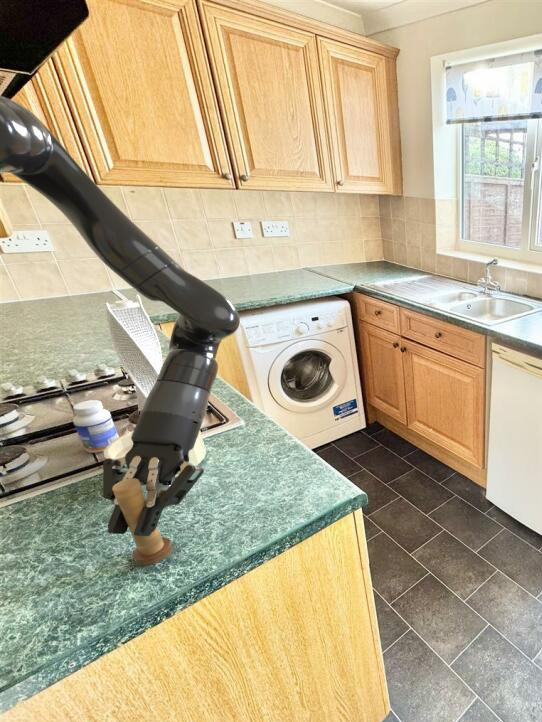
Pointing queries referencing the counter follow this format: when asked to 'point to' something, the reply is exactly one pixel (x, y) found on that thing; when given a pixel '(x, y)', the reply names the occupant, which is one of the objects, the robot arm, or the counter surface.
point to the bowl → (125, 444)
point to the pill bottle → (94, 426)
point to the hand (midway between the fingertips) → (129, 534)
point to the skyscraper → (135, 344)
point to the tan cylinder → (131, 507)
